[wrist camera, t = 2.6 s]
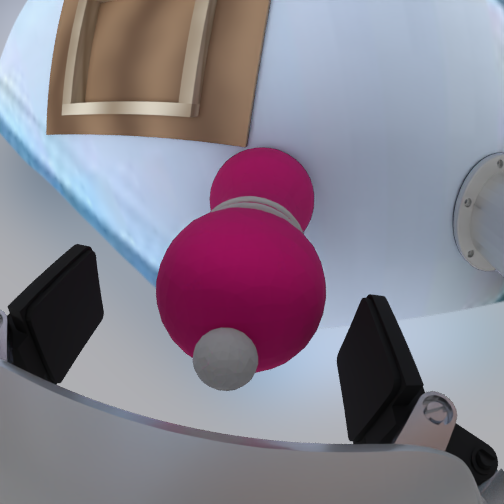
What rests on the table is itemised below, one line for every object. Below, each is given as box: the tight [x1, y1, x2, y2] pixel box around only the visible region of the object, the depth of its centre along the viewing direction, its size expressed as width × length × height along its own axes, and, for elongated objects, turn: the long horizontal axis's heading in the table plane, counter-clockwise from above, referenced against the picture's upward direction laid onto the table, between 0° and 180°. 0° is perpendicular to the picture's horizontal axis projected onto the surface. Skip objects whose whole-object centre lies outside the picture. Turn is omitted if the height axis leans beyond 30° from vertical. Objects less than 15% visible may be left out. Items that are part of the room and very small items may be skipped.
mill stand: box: [46, 0, 271, 147], centre depth 19 cm, size 20×16×3 cm
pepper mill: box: [156, 148, 326, 391], centre depth 16 cm, size 7×7×20 cm
